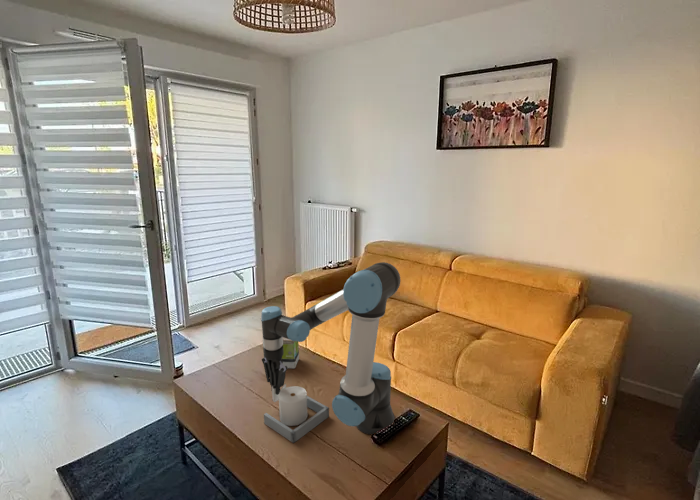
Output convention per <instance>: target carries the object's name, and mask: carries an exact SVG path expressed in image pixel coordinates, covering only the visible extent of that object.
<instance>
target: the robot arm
mask: <svg viewBox="0 0 700 500" xmlns="http://www.w3.org/2000/svg"><path fill="white" fill-rule="evenodd" d="M401 281H402V280H401V275H400V271H399V270H398V269H397V268H396V267H395V265H393V264H391V263H388V262H385V261H384V262H381V261H380V262H376V263H374V264H372V265H369V266H368V267H366V268H364V269H362V270H359V271H357V272H355V273H353V274H352V275H350V277H349V278H348V279H346V282H345V283H344V286H343V289H341V290H339V291H337V292H336V293H333V294H332V295H331V296H329V297H327V298H325V299H323V300H322V301H320V302H318V303H316V304H314V305H313V306H311V307H309V308H307V309H305V310H304V311H302V312H300V313H298V314H297V315H294V316H291V317H290V316H286V315H283V312H282V308H280V306H277V305H275V306H274V305H272V306H271V305H270V306H266V307H265V308H263V309H261V319H260V320H261V332H262V349H263V350H264V353H263V358H261V362H262V365H263V367H264V373H265V378H266V382H267V383H269V384H270V387H271V388H270V389H271V395H272V402H273V403H277V402H279V392H280V390H281V388H282V387H283V386H284V385H285V381H286V380H285V379H286V374H287V370H288V368H287V366H284V365H283V361H282V356H283V354H284V351H283V337H284V338H287V339H290V340H292V341H298V343H301V342H305V341H306V340H307V338H308V337H309V335H310V333H311V332H310V331H312V329H314V328H317V327H318V326H320V325H322V324H324V323H325V322H328V321H329V320H331V319H333V318H336V317H337V316H339V315H341V314H343V313H345V312H347V311H348V312H349V313H350V314H351V315H352V316H351V324H350V333H349V343H348V350H347V351H348V352H347V353H348V354H347V359H346V369H345V375H344V376H342V377H341V379H340V382H339V391H338V394H337V395H335V396H334V398H333V399H332V402H331V408H332V410H333V413H334V415H335V416H336V418H337V419H338V420H339V421H340V422H342V424H343V425H346V426H349V427H356V429H358V431H360V432H362V433H363V434H367V435H370V434H374V433H376V432H377V431H379V430H381V429H383V428H385V427H387V426H389V425H391V424H392V423H393V422H394V420H395V413H394V412H393V409H392V405H391V393H392V392H391V389H392V388H391V387H392V386H391V385H392V383H391V381H392V373H391V369H390V368H389V366H388V365H385V364H384V363H381V362H377V361H376V362H375V361H374V359H375V354H376V345H377V339H378V332H379V331H378V330H379V324H380V319H381V318H383V317H384V316H385V314H386V307H387V301H388V299H389V298H391V297H392V296H393V295H395V294H396V293H397V292H398V290H399V289H400V286H401ZM263 347H264V348H263ZM264 357H265V358H264Z"/></svg>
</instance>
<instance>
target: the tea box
mask: <svg viewBox="0 0 700 500" xmlns="http://www.w3.org/2000/svg"><path fill="white" fill-rule="evenodd" d="M299 347H300V346H299V342H298V341H292V340H290V339H287V338H284V337H283V351H284V354H283V356H282V361H283V365H284V366H287V369H296V367H297V364H298V362H299V360H300V351H299V350H300V348H299ZM263 348H264V347H263V346H262V349H263ZM262 354H264V350H263V353H262ZM263 358H265V357H264V356H263Z"/></svg>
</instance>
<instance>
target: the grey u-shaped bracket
mask: <svg viewBox="0 0 700 500" xmlns="http://www.w3.org/2000/svg"><path fill="white" fill-rule="evenodd" d="M307 409H310V410H312V411H313V412H315V414H314V415H312V416H311V417H310V418H307V419H306V420H305V421H304V422H303V423H301V424H299V426H298V425H297V427H295V428H294V429H292V428H291V427H290V426H288V425H285V424H283V423H282V422H281V421H280V420H279V419H276V418H275V417H274V416H272V415H270V414H269V413H267V412H265V413H263V423H264V425H266V426H267V427H269V428H270V429H271V430H273V431H275V432H276V433H277V434H279V435H281V436H282V437H283V438H285V439H286V440H289V442H291V443H292V444H294V443H296V442H297V441H299V440H300V439H301V438H303V437H304V436H305V435H307V434H308V433H309V432H310V431H312V430H313V429H314V428H316V427H317V426H318V425H320V424H321V423H322V422H324V421H325V420H327V419H328V418H329V417H330V408H329V406H327V405H325V404H323V403H321V402H319V401H317V400H316V399H315V398H312V397H310V396H309V395H307Z"/></svg>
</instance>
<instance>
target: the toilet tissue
mask: <svg viewBox="0 0 700 500" xmlns="http://www.w3.org/2000/svg"><path fill="white" fill-rule="evenodd" d="M307 394H308V392H307V391H306V389H305V388H304V387H302V386H297V385H296V386H295V385H294V386H287V383H284V385H283V386H282V387H280V392H279V400H278V409H279V410H278V411H279V413H278V414H279V421H280V422H281V423H283V424H284V425H286V426H288V427H294V426H298V425H299V426H300V425H301V424H302V423H304V422H305V421H307V420H308V415H309V414H308V407H307V396H308V395H307Z"/></svg>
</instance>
